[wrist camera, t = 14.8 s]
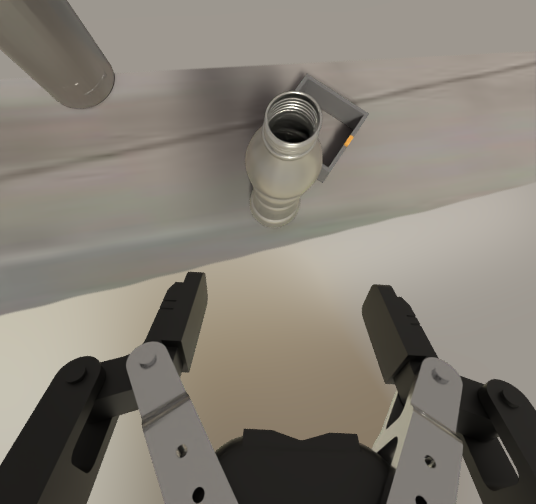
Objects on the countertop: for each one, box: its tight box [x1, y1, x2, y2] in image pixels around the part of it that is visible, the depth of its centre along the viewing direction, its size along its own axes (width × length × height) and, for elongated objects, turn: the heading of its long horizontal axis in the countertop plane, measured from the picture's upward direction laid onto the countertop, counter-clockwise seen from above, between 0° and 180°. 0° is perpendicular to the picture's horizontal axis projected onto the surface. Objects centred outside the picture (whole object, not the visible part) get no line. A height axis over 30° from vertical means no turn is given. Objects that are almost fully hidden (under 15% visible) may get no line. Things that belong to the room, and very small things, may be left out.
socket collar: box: [295, 74, 369, 183], centre depth 35 cm, size 10×10×4 cm
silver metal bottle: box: [245, 91, 322, 228], centre depth 25 cm, size 6×7×20 cm
